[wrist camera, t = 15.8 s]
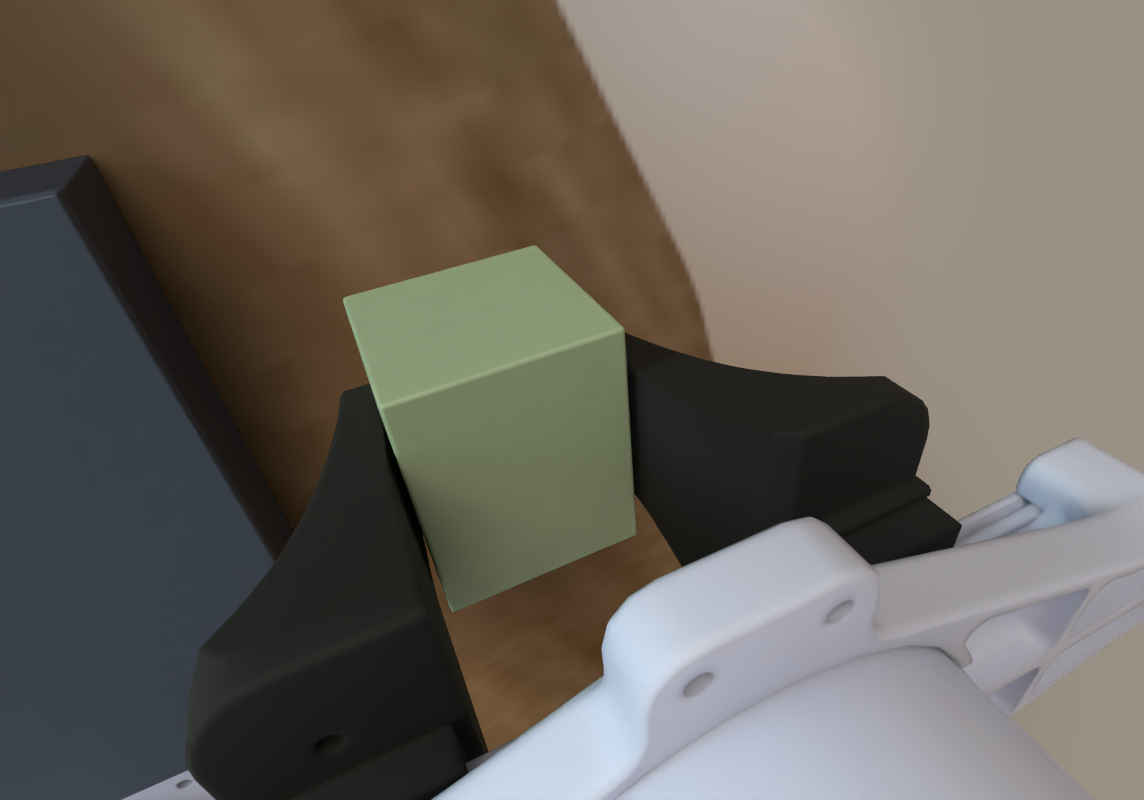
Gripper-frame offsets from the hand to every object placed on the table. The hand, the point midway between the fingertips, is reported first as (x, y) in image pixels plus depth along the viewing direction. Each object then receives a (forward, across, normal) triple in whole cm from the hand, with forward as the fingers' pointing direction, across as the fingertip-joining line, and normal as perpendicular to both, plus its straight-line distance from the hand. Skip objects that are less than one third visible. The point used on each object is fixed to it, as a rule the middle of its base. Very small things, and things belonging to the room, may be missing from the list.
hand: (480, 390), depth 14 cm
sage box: (+1, 0, 0) cm, 1 cm away
